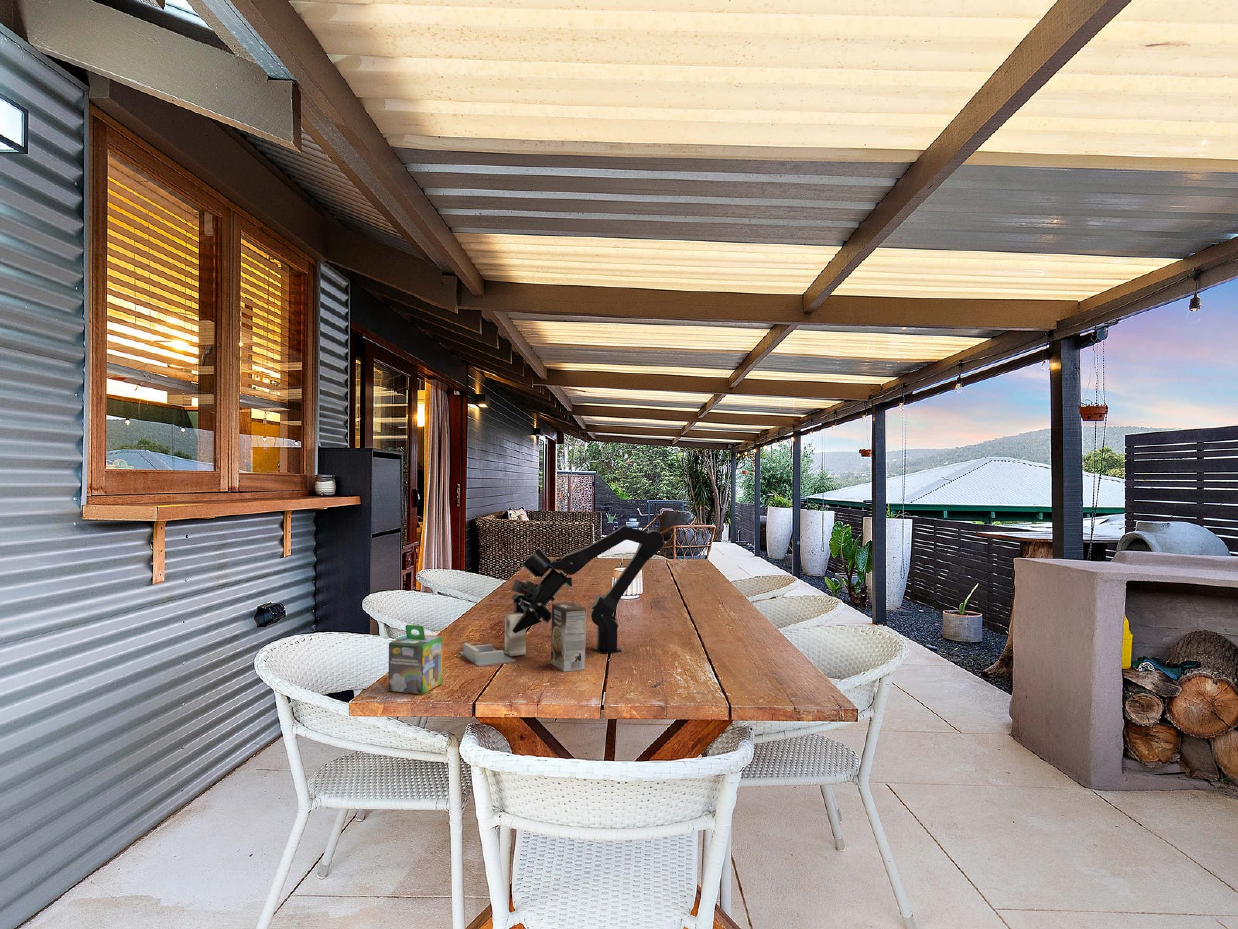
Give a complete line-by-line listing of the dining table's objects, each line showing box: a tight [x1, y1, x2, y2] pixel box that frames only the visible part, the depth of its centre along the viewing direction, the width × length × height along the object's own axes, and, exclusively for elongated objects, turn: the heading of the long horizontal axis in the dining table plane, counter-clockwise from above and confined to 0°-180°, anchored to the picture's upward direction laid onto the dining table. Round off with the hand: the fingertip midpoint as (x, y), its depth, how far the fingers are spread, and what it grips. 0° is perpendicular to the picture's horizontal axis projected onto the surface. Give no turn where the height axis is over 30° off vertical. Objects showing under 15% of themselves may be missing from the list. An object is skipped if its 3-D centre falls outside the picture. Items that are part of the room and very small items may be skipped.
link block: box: [503, 612, 527, 657], centre depth 191 cm, size 4×5×11 cm
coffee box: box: [550, 602, 587, 673], centre depth 179 cm, size 9×6×16 cm
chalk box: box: [388, 624, 443, 696], centre depth 158 cm, size 9×9×15 cm
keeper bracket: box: [459, 642, 516, 668], centre depth 187 cm, size 16×10×4 cm, turn 31°
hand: (510, 630), depth 190 cm, fingers closed on link block, 5 cm apart
